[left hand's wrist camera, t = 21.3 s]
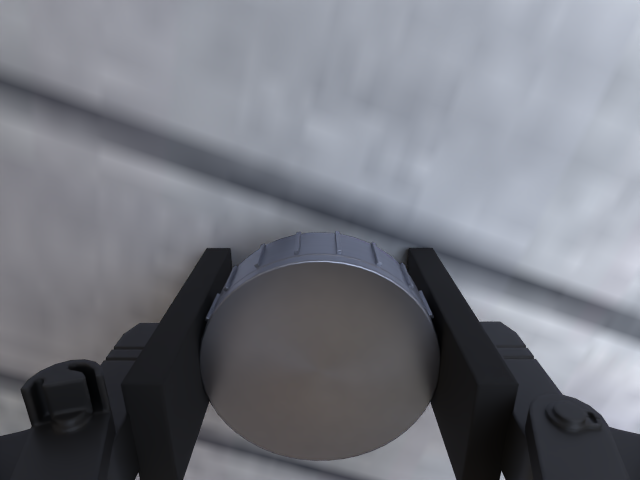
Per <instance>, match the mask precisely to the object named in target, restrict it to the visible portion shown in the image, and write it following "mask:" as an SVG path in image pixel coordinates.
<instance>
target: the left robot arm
mask: <svg viewBox="0 0 640 480" xmlns="http://www.w3.org/2000/svg"><path fill="white" fill-rule="evenodd" d="M231 271H232V262H231V250H230V248H207V249H206V251H205V252H204V254H203V255H202V257H201V259H200V260H199V262H198V263H197V265H196V266H195V268H194V270H193V271H192V273H191V274H190V276H189V277H188V279H187V281H186V282H185V284H184V285H183V287H182V288H181V290H180V292H179V293H178V295H177V296H176V298H175V299H174V301H173V303H172V304H171V306H170V307H169V309H168V310H167V312H166V314H165V315H164V317H163V318H162V320H161V321H160V323H139V324H138V325H136V326H135V327H133V328H132V329H130V330H129V331H128V332H126V333H125V334H123V336H122V337H121V338H120V340H119V341H118V342H117V344H116V345H115V346H114V350H111V352H110V353H109V355H108V356H107V357H106V361H103V363H102V364H101V365H99V364H98V363H96V362H94V361H89V360H85V359H84V360H70V361H66V362H62V363H58V364H55V365H53V366H50V367H48V368H46V369H44V370H42V371H40V372H38V373H37V374H36V375H34V376H33V377H31V378H30V379H29V380H28V381H27V382H26V383H25V384H24V386H23V387H22V388H21V393H22V396H23V399H24V402H25V406H26V409H27V412H28V415H29V419H30V422H31V425H32V427H31V429H28V430H25V431H21V432H17V433H12V434H8V435H4V436H0V480H135V478H136V476H137V474H138V472H139V477H140V480H183V478H184V475H185V472H186V469H187V466H188V463H189V460H190V457H191V454H192V451H193V448H194V446H195V443H196V440H197V437H198V434H199V431H200V428H201V425H202V422H203V419H204V416H205V413H206V410H207V407H208V404H209V399H208V397H207V395H206V393H205V390H204V387H203V383H202V380H201V373H200V364H199V350H200V344H201V339H202V336H203V333H204V330H205V327H206V325H207V321H205V319H206V317H207V314H208V312H209V310H210V308H211V306H212V304H213V301H214V299H215V297H216V295H217V293H218V294H220V293H221V291H222V289H223V287H224V285H225V284H226V282H227V280H228V278H229V276H230V273H231ZM407 272H408V274H409V275H410V277H411V278H412V280H413V282H414V283H415V285H416V287H417V289H418V291H421V290H422V292H423V295H424V297H425V299H426V301H427V303H428V305H429V308H430V310H431V312H432V314H433V317H434V318H431V321H432V323H433V325H434V328H435V330H436V333H437V336H438V340H439V345H440V352H441V362H440V371H439V379H438V384H437V387H436V390H435V392H434V395H433V397H432V399H431V401H430V402H431V405H432V408H433V411H434V414H435V417H436V420H437V423H438V426H439V429H440V432H441V435H442V438H443V441H444V444H445V447H446V450H447V453H448V456H449V459H450V462H451V465H452V468H453V471H454V474H455V477H456V480H499V479H500V475H501V471H502V473H503V475H504V477H505V479H506V480H640V434H636V433H631V432H627V431H623V430H618V429H615V428H611V427H609V426H608V424H607V423H606V421H605V420H604V419H603V417H602V416H601V415H600V414H599V413H598V412H597V411H595V410H594V409H593V408H592V407H591V406H589V405H587V404H585V403H583V402H581V401H579V400H577V399H575V398H572V397H569V396H565V395H562V393H561V392H560V391H559V389H558V388H557V387H556V385H555V384H554V383H553V381H552V380H551V379H550V377H549V376H548V375H547V373H546V372H545V371H544V369H543V368H542V367H541V365H540V364H539V363H538V361H537V360H536V359H534V356H533V355H532V353H531V352H530V351H529V349H528V348H526V345H525V344H524V343H523V341H522V340H521V339H520V337H519V336H518V335H517V333H516V332H514V331H513V330H511V329H510V328H508V327H507V326H506V325H504V324H503V323H501V322H479V321H478V319H477V317H476V316H475V314H474V313H473V311H472V310H471V308H470V306H469V305H468V303H467V302H466V300H465V299H464V297H463V295H462V294H461V292H460V291H459V289H458V288H457V286H456V284H455V283H454V281H453V280H452V278H451V277H450V275H449V273H448V272H447V270H446V269H445V267H444V265H443V264H442V262H441V261H440V259H439V258H438V256H437V254H436V253H435V251H434V250H433V248H409V257H408V269H407Z"/></svg>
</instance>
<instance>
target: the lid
mask: <svg viewBox="0 0 640 480" xmlns="http://www.w3.org/2000/svg"><path fill="white" fill-rule="evenodd" d="M431 318H434V317H433V314H432V312H431V310H430V308H429V305H428V303H427V301H426V299H425V297H424V295H423V292H422V290H421V291H418V289H417V287H416V285H415V283H414V282H413V280H412V278H411V277H410V275H409V274H408V272H407V269H406V267H405V265H404V264H403V263H401V264H399V263H398V262H397V261H396V260H395V259H394V258H393V257H392V256H390V255H389V254H387V253H386V252H384V251H383V250H382V249H380V248H378V247H377V246H376V243H374V242H372V243H371V244H370V243H368V242H366V241H363V240H360V239H358V238H355V237H351V236H347V235H342V234H340V232H338V231H335V233H326V232H320V233H304V234H301V232H297V233H296V235H293V236H289V237H285V238H282V239H279V240H277V241H274V242H272V243H270V244H267V245H265V244H262V245H261V246H260V249H259V250H257V251H255V252H254V253H253V254H251V255H250V256H249V257H247V258H246V259H245V260H244V261H243V262H242V263H241V264H240V265H239V266H238V267H237V266H236V265H235V266H234V267H233V269H232V271H231V273H230V276H229V278H228V280H227V282H226V284H225V285H224V287H223V289H222V291H221V293H220V294H218V293H217V295H216V297H215V299H214V301H213V304H212V306H211V308H210V310H209V312H208V314H207V317H206V319H205V321H207V325H206V327H205V330H204V333H203V336H202V339H201V344H200V350H199V364H200V373H201V380H202V383H203V387H204V390H205V393H206V395H207V397H208V399H209V401H210V403H211V405H212V406H213V408H214V409H215V411H216V412H217V414H218V415H219V416H220V417H221V418H222V419H223V421H224V422H225V423H226V424H227V425H228V426H229V427H230V428H232V429H233V430H234V431H235V432H236V433H237V434H239V435H240V436H242V437H243V438H244V439H246V440H247V441H249V442H251V443H253V444H255V445H256V446H258V447H260V448H262V449H265V450H267V451H270V452H272V453H275V454H279V455H282V456H286V457H290V458H296V459H301V460H313V461H325V460H338V459H345V458H350V457H354V456H359V455H362V454H365V453H368V452H371V451H373V450H375V449H378V448H380V447H382V446H384V445H386V444H388V443H389V442H391V441H393V440H394V439H396V438H397V437H399V436H400V435H401V434H403V433H404V432H405V431H407V430H408V429H409V428H410V427H411V426H412V425H413V424H414V423H415V422H416V421H417V420H418V419H419V417H420V416H421V415H422V414H423V412H424V411H425V409H426V408H427V406H428V404H429V403H430V401H431V399H432V397H433V395H434V392H435V390H436V387H437V384H438V379H439V371H440V362H441V352H440V345H439V340H438V336H437V333H436V330H435V328H434V325H433V323H432V321H431Z"/></svg>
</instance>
